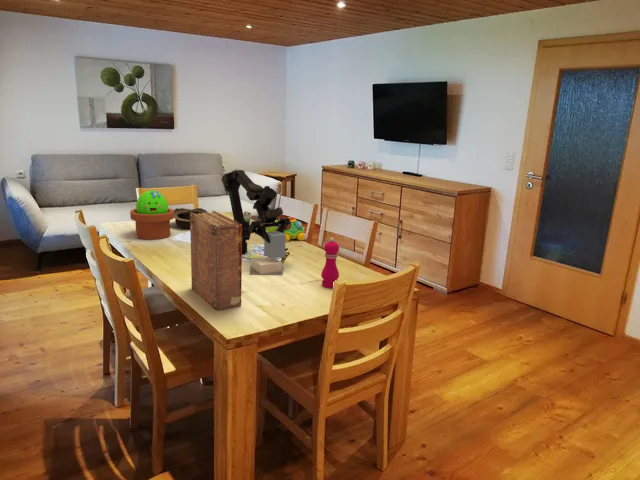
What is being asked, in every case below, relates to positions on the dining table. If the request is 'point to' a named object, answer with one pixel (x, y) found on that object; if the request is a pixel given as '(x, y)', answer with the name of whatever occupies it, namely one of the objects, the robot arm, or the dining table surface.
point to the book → (216, 259)
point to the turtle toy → (291, 230)
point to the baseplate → (253, 272)
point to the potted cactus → (152, 216)
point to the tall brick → (275, 245)
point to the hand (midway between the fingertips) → (276, 241)
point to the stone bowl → (185, 216)
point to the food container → (247, 216)
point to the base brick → (266, 265)
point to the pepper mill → (330, 264)
